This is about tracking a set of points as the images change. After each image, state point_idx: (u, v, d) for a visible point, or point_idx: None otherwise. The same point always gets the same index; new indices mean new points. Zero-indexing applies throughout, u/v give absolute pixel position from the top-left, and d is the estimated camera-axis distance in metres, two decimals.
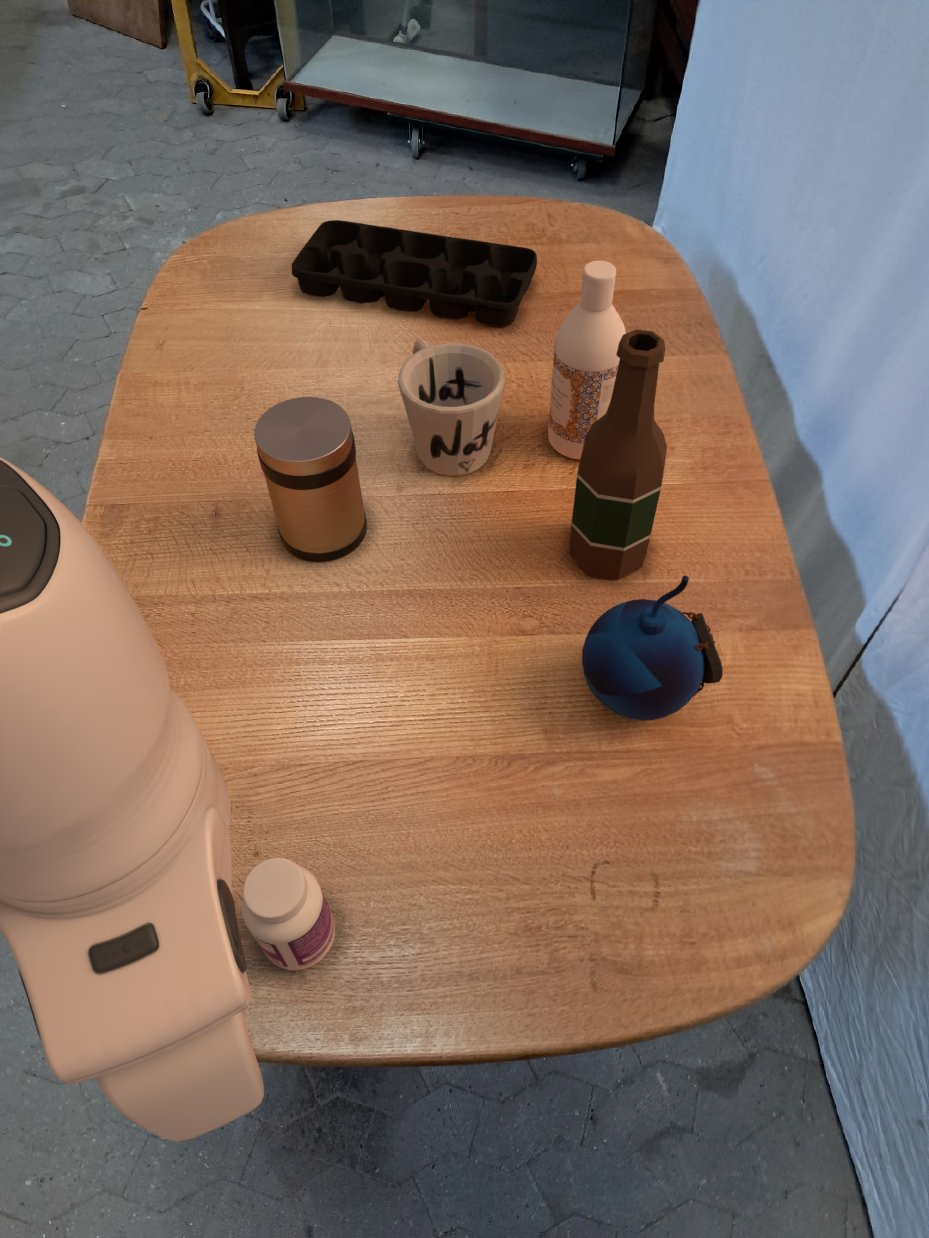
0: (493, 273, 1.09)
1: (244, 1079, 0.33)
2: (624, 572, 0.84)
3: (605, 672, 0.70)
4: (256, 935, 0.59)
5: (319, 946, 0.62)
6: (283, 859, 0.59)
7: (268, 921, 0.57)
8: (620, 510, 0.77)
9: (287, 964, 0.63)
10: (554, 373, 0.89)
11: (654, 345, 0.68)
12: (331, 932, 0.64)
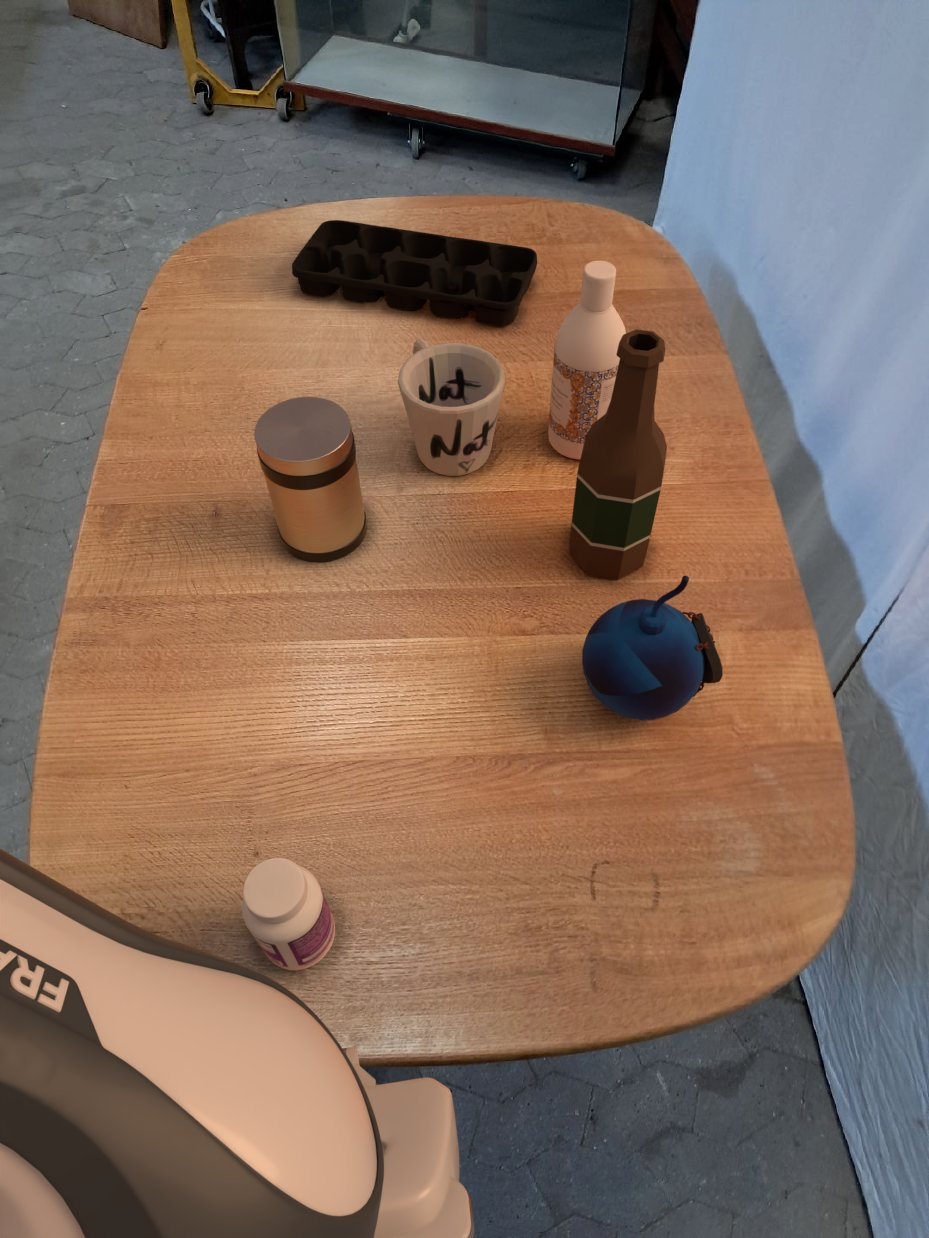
0: (493, 273, 1.09)
1: None
2: (624, 572, 0.84)
3: (605, 672, 0.70)
4: (256, 935, 0.59)
5: (318, 946, 0.62)
6: (283, 859, 0.59)
7: (268, 921, 0.57)
8: (620, 510, 0.77)
9: (287, 964, 0.63)
10: (554, 373, 0.89)
11: (654, 345, 0.68)
12: (331, 932, 0.64)
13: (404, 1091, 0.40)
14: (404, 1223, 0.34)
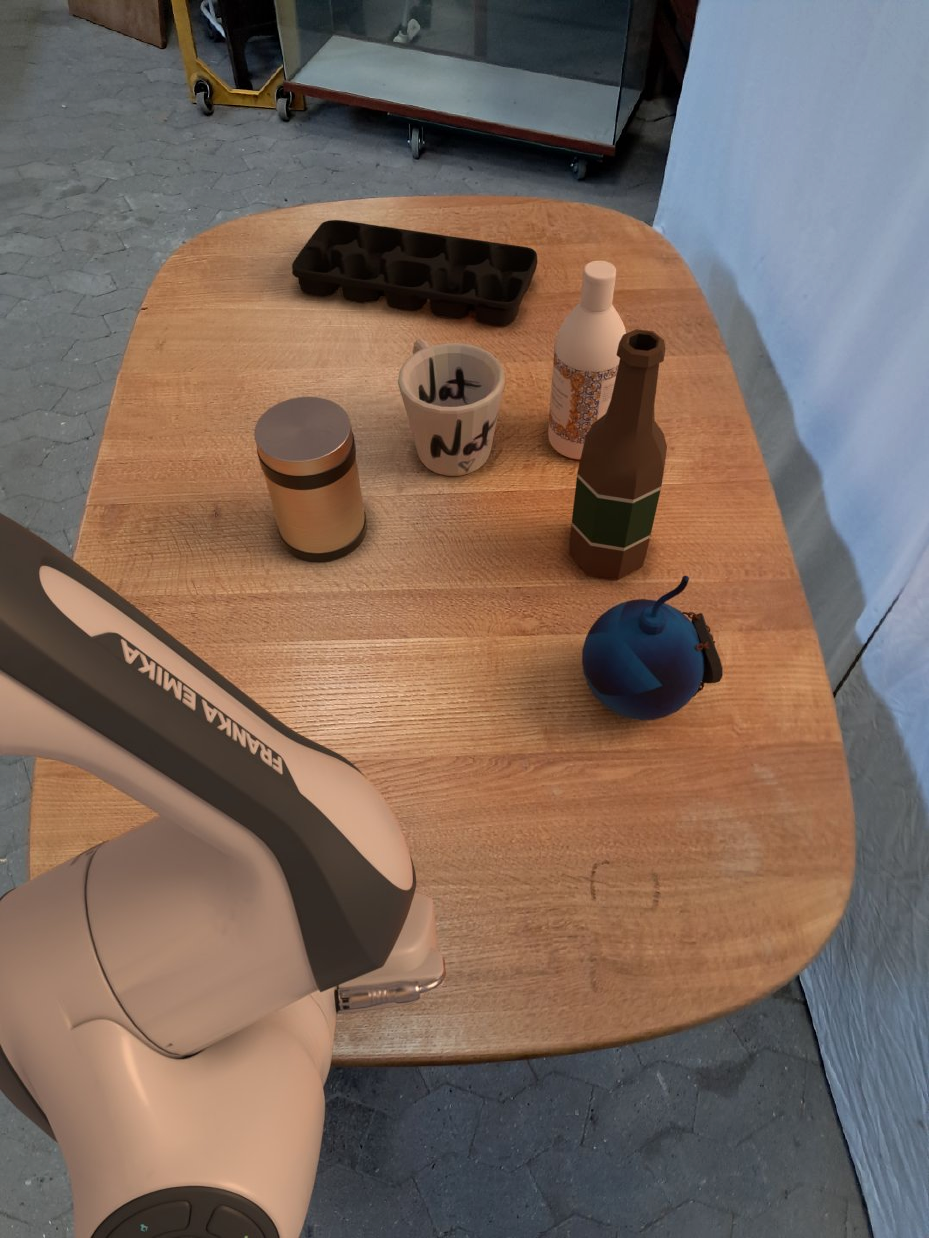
0: (493, 272, 1.09)
1: None
2: (624, 572, 0.84)
3: (605, 672, 0.70)
4: None
5: None
6: None
7: None
8: (620, 510, 0.77)
9: None
10: (554, 373, 0.89)
11: (654, 345, 0.68)
12: None
13: None
14: (398, 966, 0.50)
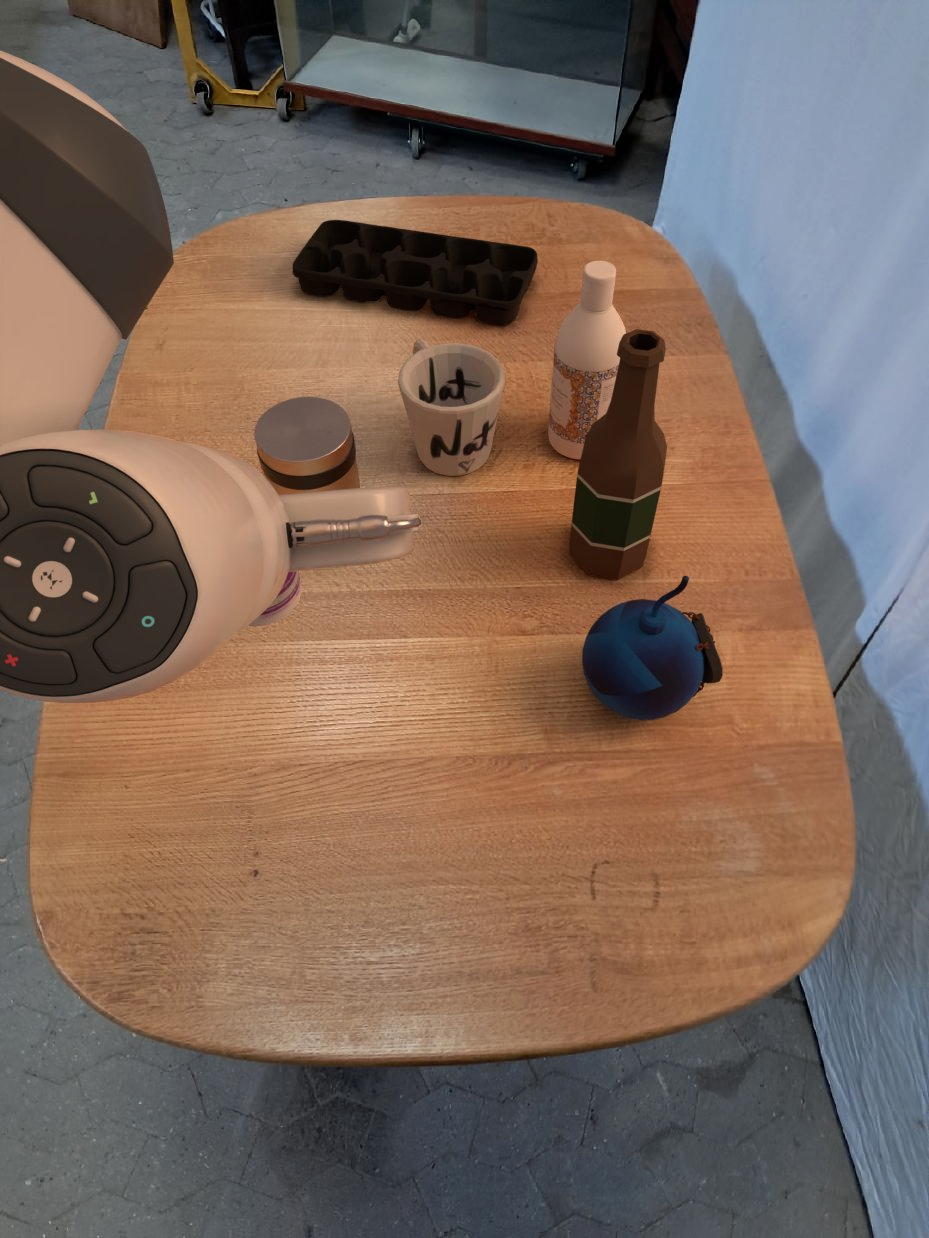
0: (493, 272, 1.09)
1: None
2: (624, 572, 0.84)
3: (605, 672, 0.70)
4: None
5: (281, 589, 0.54)
6: None
7: None
8: (620, 510, 0.77)
9: None
10: (554, 373, 0.89)
11: (654, 345, 0.68)
12: (296, 583, 0.56)
13: None
14: (363, 509, 0.42)
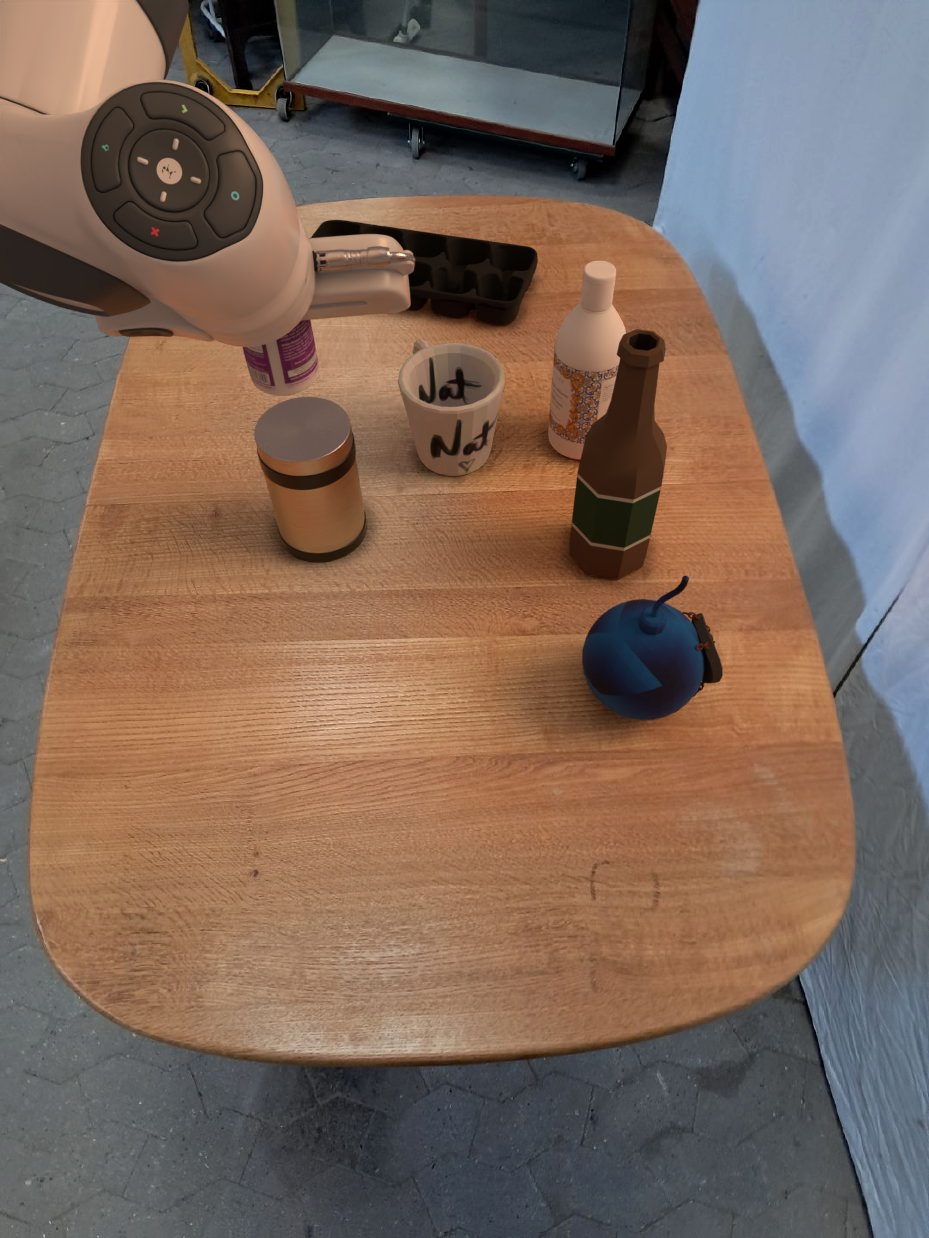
0: (494, 272, 1.09)
1: None
2: (624, 572, 0.84)
3: (605, 672, 0.70)
4: None
5: (303, 360, 0.67)
6: None
7: None
8: (620, 510, 0.77)
9: (274, 380, 0.67)
10: (554, 373, 0.89)
11: (654, 345, 0.68)
12: (315, 360, 0.69)
13: None
14: None
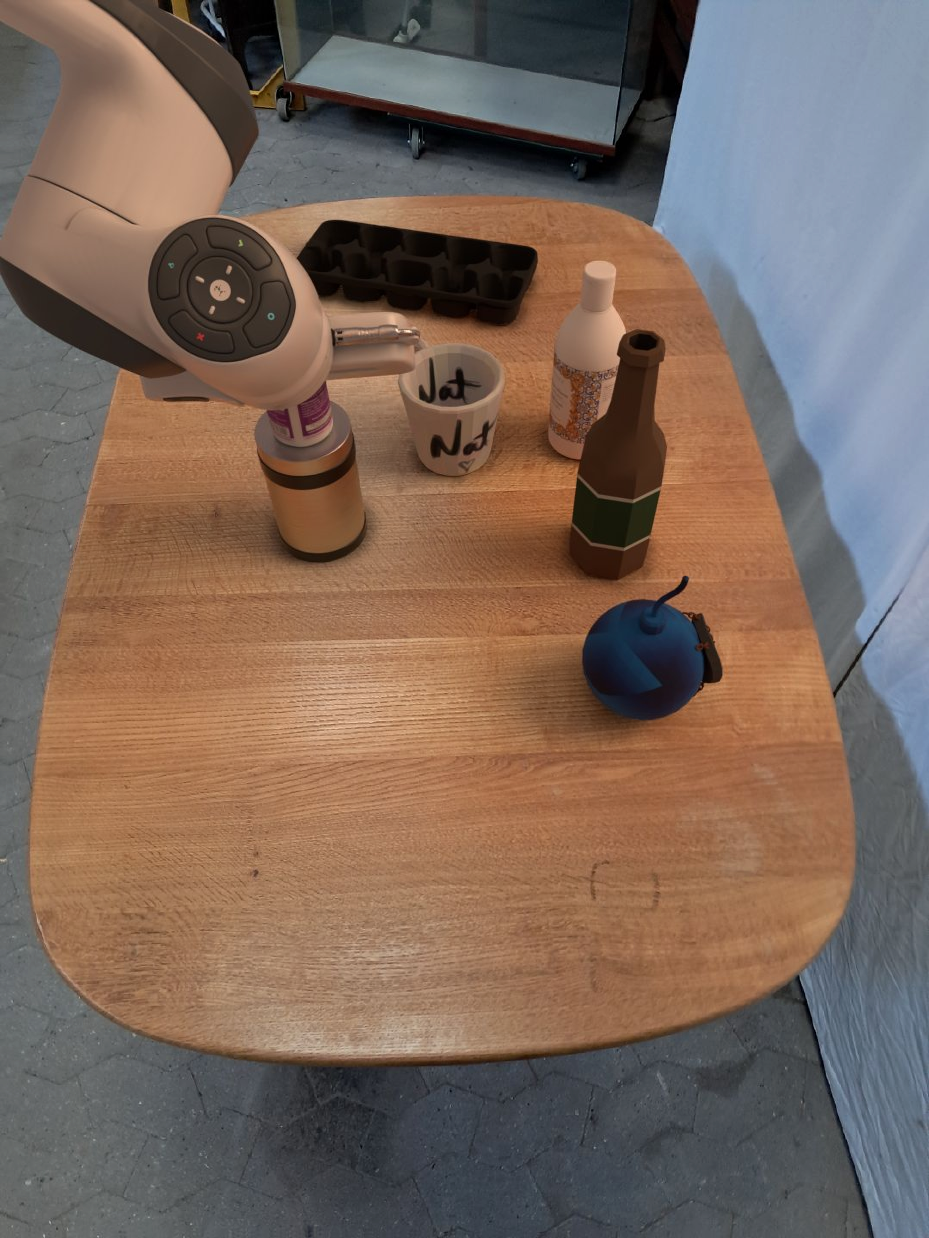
0: (494, 271, 1.09)
1: None
2: (624, 572, 0.84)
3: (605, 672, 0.70)
4: None
5: (319, 416, 0.75)
6: None
7: None
8: (620, 510, 0.77)
9: (293, 433, 0.76)
10: (554, 373, 0.89)
11: (654, 345, 0.68)
12: (329, 415, 0.77)
13: None
14: (381, 324, 0.63)
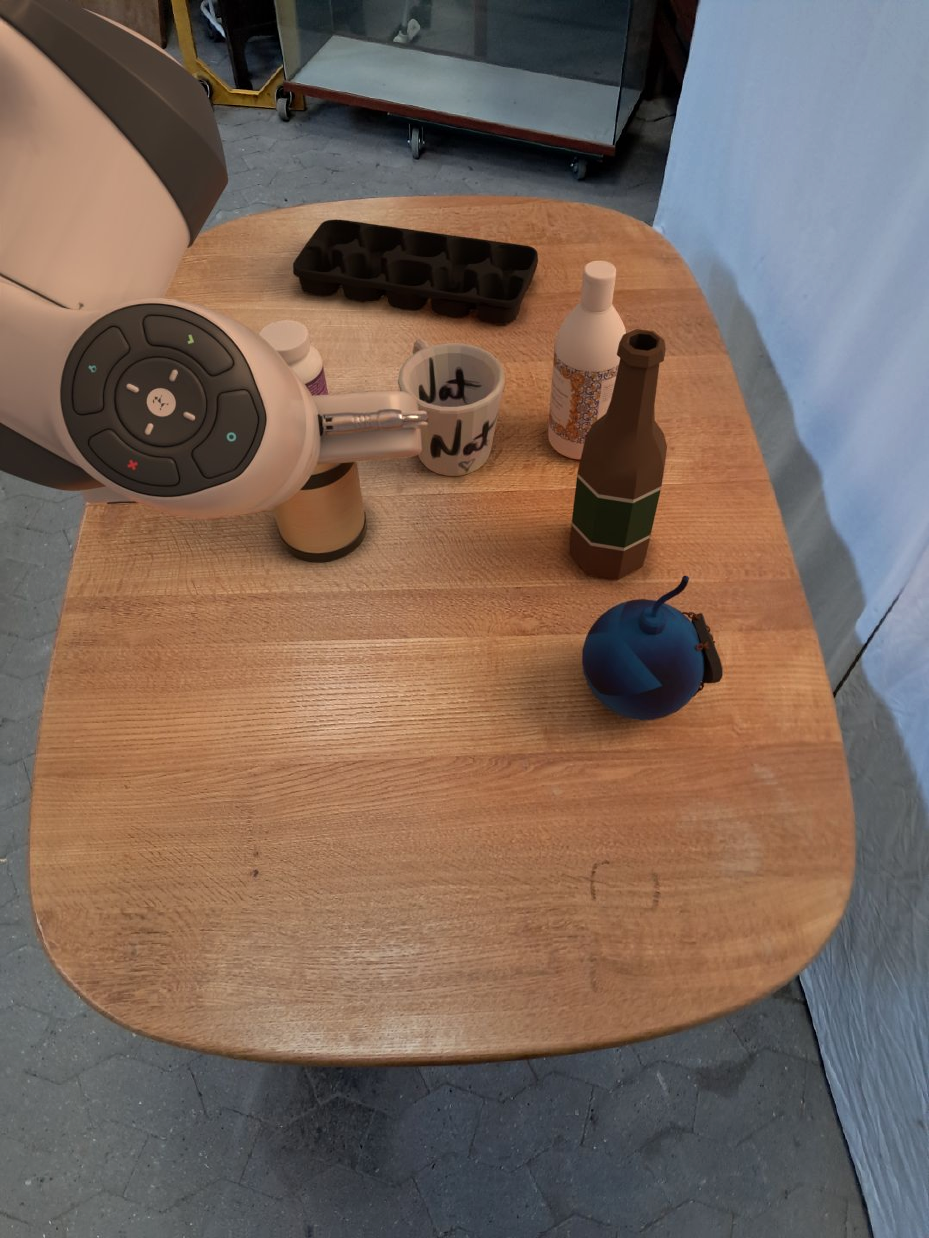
0: (494, 271, 1.09)
1: None
2: (624, 572, 0.84)
3: (605, 672, 0.70)
4: None
5: None
6: (290, 320, 0.72)
7: None
8: (620, 510, 0.77)
9: None
10: (554, 373, 0.89)
11: (654, 345, 0.68)
12: None
13: None
14: (381, 406, 0.51)
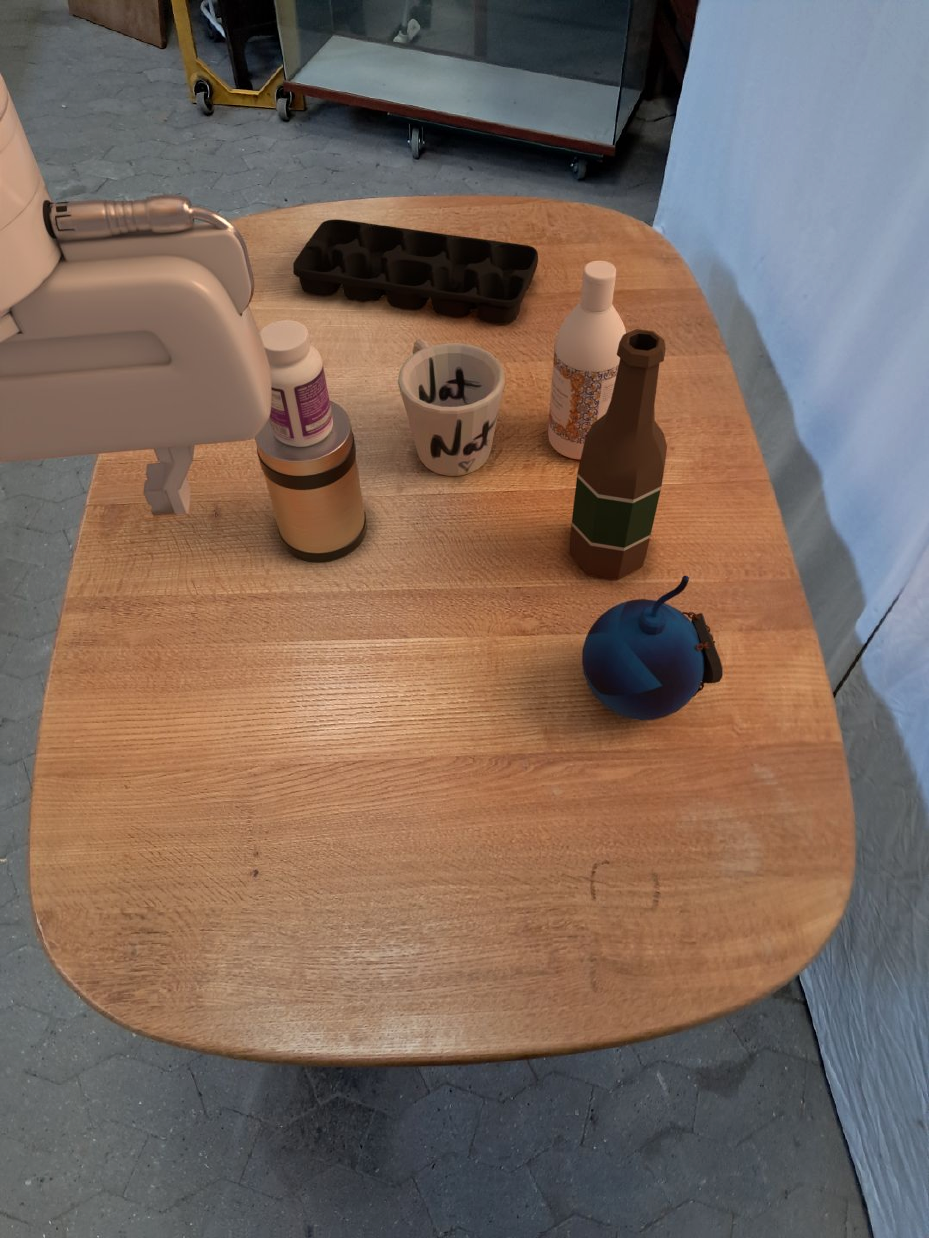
0: (494, 271, 1.09)
1: None
2: (624, 572, 0.84)
3: (605, 672, 0.70)
4: None
5: (319, 416, 0.75)
6: (290, 320, 0.72)
7: (278, 359, 0.71)
8: (620, 510, 0.77)
9: (293, 433, 0.76)
10: (554, 373, 0.89)
11: (654, 345, 0.68)
12: (329, 415, 0.77)
13: None
14: None
